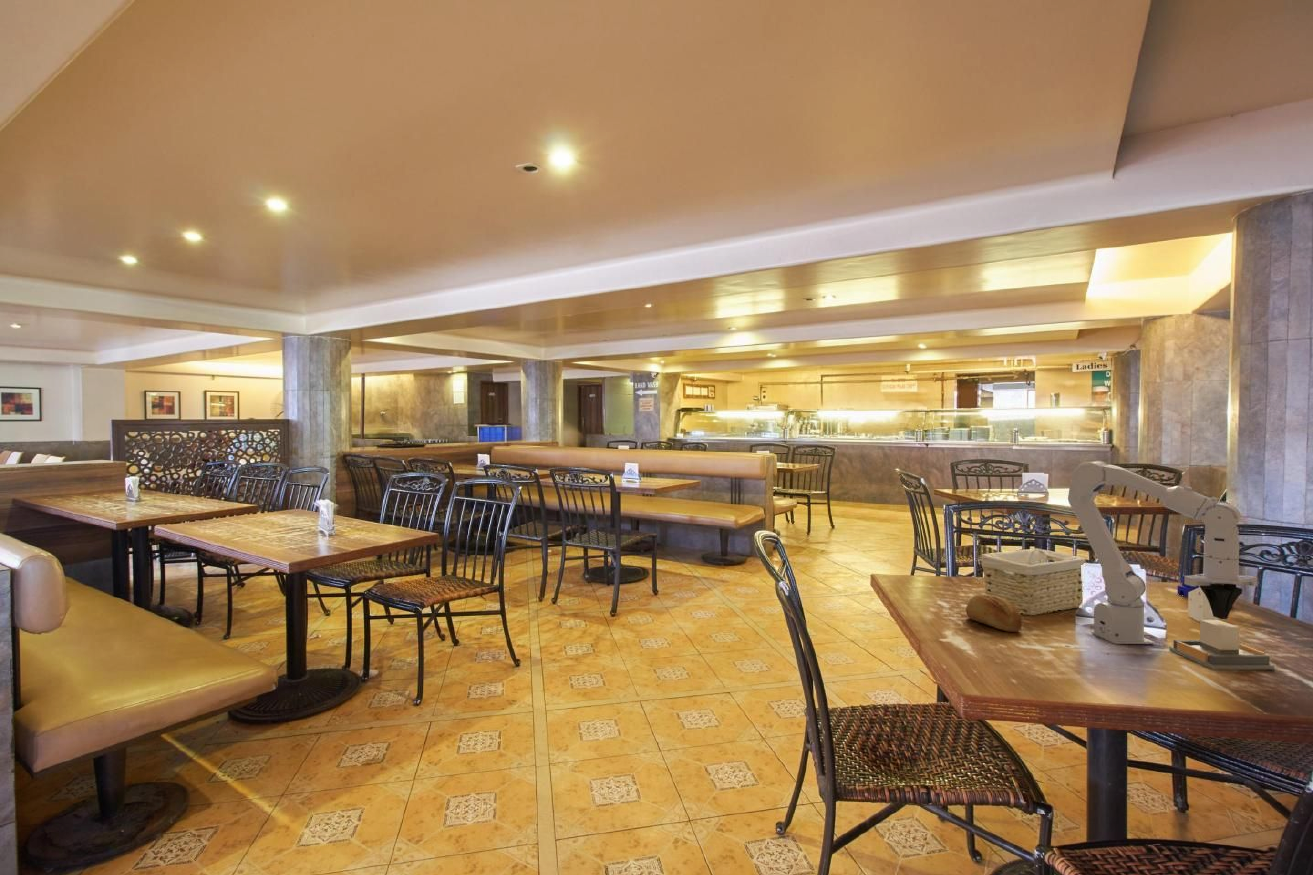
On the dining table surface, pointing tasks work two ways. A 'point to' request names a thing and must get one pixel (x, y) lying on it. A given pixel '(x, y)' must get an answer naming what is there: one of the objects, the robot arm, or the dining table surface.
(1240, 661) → the rail panel
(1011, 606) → the bread roll
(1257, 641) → the dining table surface
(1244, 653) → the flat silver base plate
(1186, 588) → the cable clip
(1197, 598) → the white angled block
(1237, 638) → the block
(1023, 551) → the storage basket
